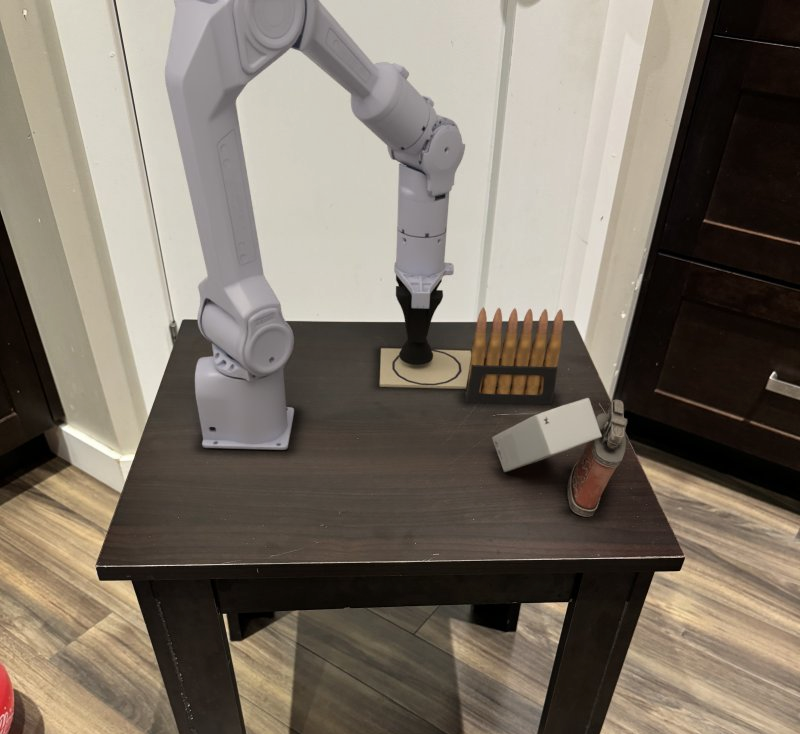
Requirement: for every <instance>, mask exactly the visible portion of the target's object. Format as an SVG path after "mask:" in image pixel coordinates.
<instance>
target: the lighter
mask: <svg viewBox="0 0 800 734" xmlns="http://www.w3.org/2000/svg"><path fill="white" fill-rule="evenodd" d="M607 411H608V412H607V413H606V412H605V413H604V412H601V413H598V415H597V416H596V420H597V423H598V427H599V429H600V432H601V435H602V437H600V438H598V439H595V440H593V441H590V442H587V443H585V444H586V445H585V446H584V449H583V451H582V453H581V454H580V457H579V459H578V461H576V463H574V465H573V467H572V470H571V472H570V475H569V477H568V482H567V499H568V504H569V507H570V509H571V511H572V512H573V513H575V514H577V515H579V516H581V517H585V518H587V517H592V516H593V515H594V514H595V513H596V511H597V508H598V507H599V504H600V500H601V496H602V495H603V492H604V491H605V489H606V487H607V485H608V483H609V481H610V480H611V477H612V476H613V474H614V472H615V470H616V469H617V467H619V466H620V464H621V463H622V461H623V457H624V455H625V452H626V447H627V437H626V428H627V425H628V418H625V417H624V412H625V409H624V402H623V401H622V400H619V399H614V400H612V402H611V403H610V405H609V408H608V410H607Z"/></svg>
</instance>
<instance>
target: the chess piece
mask: <svg viewBox="0 0 800 734" xmlns="http://www.w3.org/2000/svg"><path fill="white" fill-rule="evenodd" d="M400 349H401V351H400V353H399V357H400V359H401V360H402V361H404V362H405V363H408V364H413V365H422V364H426V363H429V362H430V361H431V360H432V359H433V352H432V350H433V349H432V347H431V345H430V343H429V342H428V339H427V338H426V340H425V342H424V343H420V342H409V341H408V338H406V341H405V342H404V343H403V344H402V346H401V348H400ZM431 349H432V350H431Z"/></svg>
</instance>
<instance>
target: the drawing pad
mask: <svg viewBox="0 0 800 734" xmlns="http://www.w3.org/2000/svg"><path fill="white" fill-rule="evenodd" d="M401 349H402V348H392V347H391V348H389V347H386V348H385V347H381V348H380V365H379V366H380V369H379V387H380V388H382V387H383V388H385V387H386V388H414V389H415V388H417V389H447V390H449V389H450V390H451V389H452V390H453V389H454V390H466V385H467V379H468V373H469V367H470V361H471V352H472V350H462V349H461V350H455V349H432V348H431V350H432V352H433V359H432V360H431V361H430V362H429V363H426V364H422V365H413V364H408V363H405V362H404V361H402V360H401V359H400V357H399V353H400V351H401Z"/></svg>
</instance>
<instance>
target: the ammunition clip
mask: <svg viewBox="0 0 800 734" xmlns="http://www.w3.org/2000/svg"><path fill="white" fill-rule="evenodd" d="M517 311H518V310H517V309H516V307H514V308H513V309H512V310H511V313H510V315H509V317H508V321H507V325H506V330H505V336H504V338H503V342H502V330H503V313H502V309H501V307H497V309H496V311H495V312H494V316H493V318H492V322H491V329H490V333H489V338H488V341H487V325H488V324H487V323H488V322H487V321H488V319H487V318H488V317H487V311H486V309H485V307H482V308H481V309H480V311H479V314H478V317H477V320H476V324H475V325H476V326H475V331H474V337H473V339H472V344H471V361H470V367H469V373H468V379H467V385H466V389H465V392H464V397H465V402H466V403H481V404H483V403H485V404H527V405H528V404H529V405H530V404H531V405H532V404H533V405H551V404H553V403H554V396H555V388H556V382H557V375H558V364H559V359H560V353H561V348H562V337H563V335H562V334H563V328H564V314H563V313H564V312H563V310H562V309H559V310H558V311H557V313H556V315H555V317H554V319H553V323H552V327H551V331H550V334H549V337H548V340H547V336H548V326H549V316H548V310H547V308H544V310H543V311H542V312H541V314H540V316H539V319H538V322H537V325H536V331H535V335H534V338H533V340H532V337H533V336H532V335H533V324H534V317H533V310H532V308H528V310H527V312H526V313H525V315H524V318H523V321H522V326H521V330H520V335H519V338H518V341H517V335H518V325H519V324H518V323H519V322H518V321H519V318H518V312H517Z"/></svg>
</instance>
